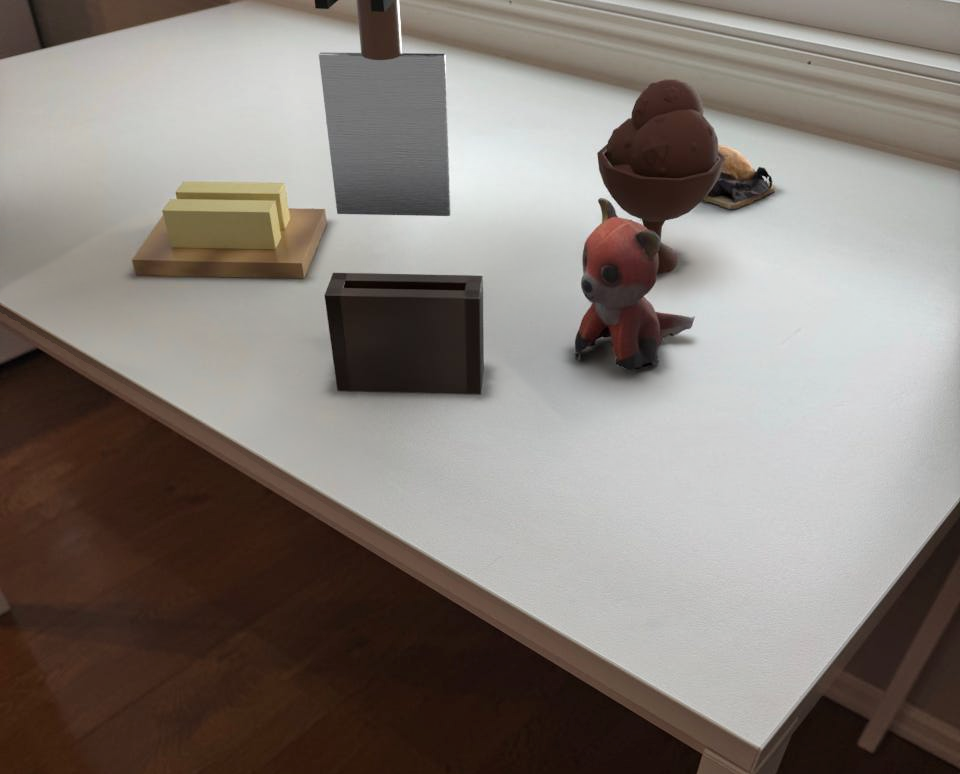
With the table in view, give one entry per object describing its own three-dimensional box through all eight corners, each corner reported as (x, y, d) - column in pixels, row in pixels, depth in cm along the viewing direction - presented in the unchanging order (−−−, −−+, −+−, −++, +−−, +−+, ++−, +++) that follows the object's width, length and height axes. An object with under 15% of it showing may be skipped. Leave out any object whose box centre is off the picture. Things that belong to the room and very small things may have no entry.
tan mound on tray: (651, 182, 104) (655, 146, 102) (704, 162, 108) (709, 127, 105) (728, 213, 99) (734, 175, 96) (780, 190, 102) (788, 154, 100)
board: (135, 275, 91) (131, 259, 89) (172, 221, 99) (168, 206, 98) (304, 278, 90) (301, 263, 89) (327, 223, 98) (325, 208, 97)
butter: (171, 247, 91) (161, 210, 89) (190, 217, 96) (182, 180, 93) (275, 249, 91) (269, 212, 88) (290, 219, 95) (284, 182, 93)
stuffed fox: (716, 350, 80) (743, 203, 71) (614, 396, 75) (630, 244, 67) (653, 315, 84) (671, 172, 75) (553, 356, 80) (560, 208, 71)
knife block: (337, 390, 76) (324, 295, 71) (344, 366, 79) (332, 272, 73) (481, 394, 76) (479, 298, 70) (483, 370, 78) (483, 275, 72)
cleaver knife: (334, 220, 68) (293, -123, 54) (340, 205, 69) (303, -131, 56) (448, 222, 67) (437, -123, 53) (451, 207, 69) (441, -131, 55)
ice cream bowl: (569, 251, 93) (578, 78, 82) (665, 227, 96) (686, 58, 85) (630, 297, 86) (649, 116, 75) (731, 270, 90) (763, 92, 79)
